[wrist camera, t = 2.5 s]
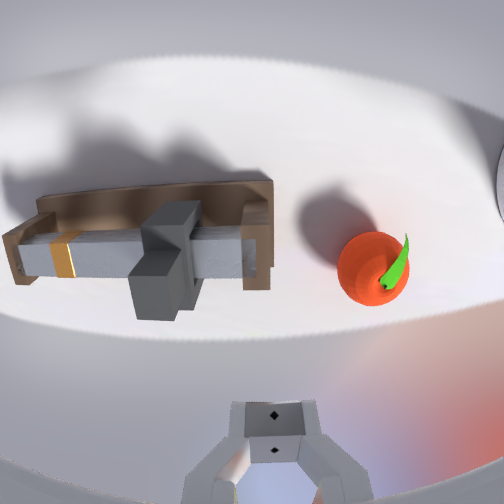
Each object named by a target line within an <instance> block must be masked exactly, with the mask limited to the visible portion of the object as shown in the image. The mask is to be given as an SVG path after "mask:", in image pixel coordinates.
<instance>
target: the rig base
mask: <svg viewBox="0 0 504 504" xmlns="http://www.w3.org/2000/svg"><path fill="white" fill-rule="evenodd" d="M197 200H201V210H202V223H203V226H240V227H241V239H244V241H245V240H246V239H247V240H248V239H249V240H251V239H252V240H253V239H256V245H255V247H256V253H255V252H254V254H256V257H255V258H256V259H255V260H256V267H255V268H256V270H254V269H255V268H254V269H253V270H254V271H256V272H253V270H251V269H250V270H251V271H252V274H255V273H256V276H255V275H254V276H255V278H253V276H252V274H251V275H250V273H251V272H250V273H248V272H249V271H250V270H247V271H246V269H248V267H249V268H251V266H252V268H253V267H254V266H255V264H254V266H253V265H252V264H253V263H252V262H251V261H250V260H249V259H248V257H245V258H247V259H248V260H249V261H250V262H251V263H252V264H251V263H249V262H248V261H247V262H248V263H249V264H251V266H250V265H249V266H248V264H246V265H245V266H246V267H247V266H248V267H247V268H246V269H245V270H243V268H242V270H243V273H244V272H245V273H246V274H244V275H247V276H244V275H243V274H242V275H243V277H246V278H243V290H270V267H274V187H273V180H265V181H224V182H199V183H180V184H163V185H149V186H136V187H124V188H113V189H102V190H92V191H83V192H74V193H65V194H57V195H49V196H43V197H41V198H39V199H37V200H36V203H37V209H38V215H37V216H35V217H33V218H31V219H29V220H28V221H26V222H24V223H22V224H21V225H19V226H17V227H15V228H14V229H12V230H10V231H9V232H7V233H5V234H4V235H2V239H3V243H4V246H5V250H6V254H7V258H8V261H9V265H10V268H11V271H12V275H13V278H14V281H15V284H16V285H30V284H31V283H33V282H34V281H35V280H36V279H37V278H38V277H39V276H26V273H25V275H24V272H25V270H24V267H23V263H21V262H22V259H21V256H19V255H20V252H19V251H17V250H19V249H18V245H19V244H21V243H22V242H24V241H25V240H27V239H28V238H30V237H31V236H33V235H34V234H37V233H54V232H66V231H78V230H84V231H93V230H115V229H140V226H141V225H142V224H143V223H144V222H145V221H146V220H147V219H148V218H149V217H150V216H151V215H152V214H153V213H154V212H156V211H157V210H158V209H159V208H160V207H161V206H162V205H163V204H164V203H165V202H174V201H197ZM241 241H242V240H241ZM244 241H243V243H244ZM245 242H246V241H245ZM248 242H249V241H248ZM251 242H252V241H251ZM254 243H255V242H254ZM241 244H242V242H241ZM246 244H247V243H246ZM246 244H245V246H244V247H247V245H246ZM250 244H251V243H250ZM252 244H253V243H252ZM16 245H17V246H16ZM243 245H244V244H243ZM243 245H241V248H242V246H243ZM253 245H254V244H253ZM12 246H13V247H12ZM15 246H16V247H15ZM250 246H251V245H250ZM250 246H249V244H248V247H250ZM14 247H15V248H14ZM248 247H247V248H248ZM251 247H253V248H254V246H251ZM13 249H14V250H13ZM16 249H17V250H16ZM242 249H244V248H242ZM242 249H241V250H242ZM245 249H246V248H245ZM249 250H251V249H250V248H249ZM254 250H255V249H254ZM13 251H14V252H13ZM242 251H244V253H246V254H248V256H249V253H250V251H249V253H247V252H248V249H247V252H245V251H246V250H242ZM251 251H253V250H251ZM16 252H17V253H16ZM14 253H15V254H14ZM17 254H19V255H17ZM250 254H251V253H250ZM254 254H253V255H251V257H252V256H254ZM15 255H16V256H15ZM242 255H244V254H243V252H242ZM17 256H18V257H17ZM245 256H246V255H245ZM249 257H250V256H249ZM251 257H250V258H251ZM15 258H16V259H15ZM245 258H244V257H242V259H243V261H244V260H247V259H245ZM17 259H18V260H21V261H18V260H17ZM15 260H16V262H18V263H16V262H15ZM251 260H252V258H251ZM254 263H255V261H254ZM16 264H17V265H16ZM20 264H22V267H23V268H20V266H21V265H20ZM243 264H244V263H242V265H243ZM17 266H19V267H17ZM245 266H244V267H245ZM18 268H19V270H20V269H22V272H21V271H19V270H18ZM20 272H21V273H20ZM20 274H21V275H20ZM22 274H23V275H22ZM248 274H249V277H250V278H248ZM251 277H252V278H251Z"/></svg>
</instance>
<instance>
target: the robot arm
mask: <svg viewBox="0 0 504 504" xmlns="http://www.w3.org/2000/svg"><path fill="white" fill-rule="evenodd" d="M497 200H498V206H499V210H500V213H501V216H502V218H503V220H504V148H503V151H502V154H501V157H500V161H499V166H498V172H497ZM272 462H297V463H298V464H299V466H300V467H301V468H302V469H303V471H304V472H305V473H306V474H307V475H308V477H309V478H310V479H311V480H312V481H313V482H314V484H315V485H316V486H317V487H318V489H317V492H316V495H315V498H314V501H313V503H312V504H504V456H503V457H501V458H499V459H497V460H495V461H493V462H490V463H488V464H486V465H483V466H481V467H479V468H476V469H474V470H471V471H469V472H466V473H464V474H461V475H458V476H455V477H453V478H450V479H447V480H444V481H442V482H438V483H435V484H432V485H428V486H425V487H422V488H418V489H415V490H411V491H407V492H403V493H399V494H395V495H391V496H387V497H382V498H378V499H374V497H373V493H372V488H371V484H370V480H369V476H368V472H367V470H366V469H365V468H364V467H363V466H361V465H360V464H359V463H358V462H357V461H356V460H354V459H353V458H352V457H351V456H350V455H349V454H348V453H346V452H345V451H344V450H343V449H342V448H341V447H340V446H339V445H338V444H336V443H335V442H334V441H333V440H332V439H331V438H330V437H329V436H328V435H327V434H322V432H321V427H320V421H319V416H318V410H317V405H316V401H315V400H303V401H302V400H301V401H300V400H298V401H282V402H232V403H231V410H230V422H229V436H228V437H224V438H223V439H222V440H221V441H220V442H219V443H218V444H217V445H216V446H215V447H214V448H213V449H212V451H211V452H210V453H209V454H208V455H207V456H206V457H205V458H204V459H203V460H202V461H201V462H200V463H199V464H198V465H197V466H196V467H195V468H194V469H193V470H192V471H191V472H190V473H189V474H188V475H187V476H186V477H185V483H184V488H183V494H182V501H181V504H238V502H237V497H236V490H235V485H236V484H237V482H238V481H239V480H240V478H241V477H242V476H243V474H244V473H245V472H246V470H247V469H248V467H249V466H250V465H251V463H272ZM0 504H156V503H150V502H144V501H139V500H134V499H128V498H124V497H119V496H115V495H111V494H107V493H103V492H99V491H95V490H92V489H88V488H84V487H81V486H78V485H75V484H72V483H68V482H65V481H62V480H59V479H57V478H54V477H51V476H48V475H45V474H43V473H40V472H38V471H35V470H33V469H30V468H28V467H25V466H23V465H21V464H18V463H16V462H14V461H11V460H9V459H7V458H5V457H3V456H1V455H0Z"/></svg>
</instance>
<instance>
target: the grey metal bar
mask: <svg viewBox="0 0 504 504" xmlns="http://www.w3.org/2000/svg"><path fill="white" fill-rule="evenodd" d="M241 240H242V241H241ZM189 241H190V251H191V260H192V269H193V278H246V277H243V275H244V274H246V273H245V272H244V273H243V270H245V269H246V268H247V267H248V266H249V265H250V266H251V264H252V263H253V264H252V265H253V266H254V264H255V266H254V267H253V268H252V266H251V268H249V267H248V269H246V271H247V270H250V269H251V270H253V269H254V268H255V267H256V260H255V259H256V258H255V257H256V254H254V252H255V253H256V247H255V245H256V239H253V240H252V239H251V240H249V239H248V240H247V239H246V240H245V241H246V242H245V241H244V239H241V227H240V226H203V227H194V228H193V230H192V232H191V233H190V235H189ZM243 241H244V243H243ZM248 241H249V242H248ZM251 241H252V242H251ZM241 242H242V244H241ZM254 242H255V243H254ZM246 243H247V244H246ZM250 243H251V244H250ZM252 243H253V244H254V245H253V244H252ZM243 244H244V245H243ZM245 244H246V245H247V247H248V244H249V246H250V245H251V246H254V248H253V247H251V246H250V247H248V248H247V247H244V246H245ZM241 245H243V246H242V248H244V249H242V248H241ZM16 246H17V245H16ZM16 246H15V247H16ZM12 247H13V246H12ZM15 247H14V248H15ZM245 248H246V249H245ZM249 248H250V249H251V250H253V251H251V250H249ZM18 249H19V250H17V249H16V250H17V251H19V252H20V255H19V254H17V255H19V256H21V259H22V262H21V263H23V267H24V270H25V272H24V275H25V273H26V276H51V277H58V278H76V277H92V278H128V275H129V273H130V272H131V271H132V269H133V268H134V267H135V266H136V264H137V263H138V262H139V260H140V259H141V258H142V257H143V255H144V250H143V244H142V237H141V231H140V229H115V230H93V231H84V230H78V231H66V232H54V233H37V234H34V235H33V236H31V237H30V238H28V239H27V240H25V241H24V242H22V243H21V244H19V245H18ZM241 249H242V250H246V251H245V252H247V249H248V252H247V253H249V251H250V253H251V254H250V253H249V256H250V257H251V255H253V254H254V256H252V257H251V258H252V260H251V258H250V257H249V256H248V254H246V253H244V251H242V250H241ZM254 249H255V250H254ZM13 250H14V249H13ZM13 252H14V251H13ZM242 252H243V254H244V255H242ZM16 253H17V252H16ZM14 254H15V253H14ZM245 255H246V256H245ZM15 256H16V255H15ZM17 257H18V256H17ZM242 257H244V258H245V257H248V259H249V260H250V261H251V262H252V263H251V262H250V261H249V260H248V259H247V258H245V259H247V260H244V261H243V259H242ZM15 259H16V258H15ZM17 260H18V259H17ZM18 261H21V260H18ZM247 261H248V262H249V263H251V264H249V263H248V262H247ZM254 261H255V263H254ZM15 262H16V260H15ZM16 263H18V262H16ZM242 263H244V264H243V265H242ZM246 264H248V266H247V267H246V266H245V265H246ZM16 265H17V264H16ZM20 265H21V266H20V268H23V267H22V264H20ZM244 266H245V267H244ZM17 267H19V266H17ZM242 268H243V270H242ZM18 270H19V268H18ZM251 270H250V271H249V272H248V273H250V272H251V273H250V275H251V274H252V271H251ZM254 270H256V268H255V269H254ZM254 270H253V272H256V271H254ZM19 271H21V272H22V269H20V270H19ZM21 272H20V273H21ZM242 274H243V275H242ZM20 275H21V274H20ZM22 275H23V274H22ZM254 275H255V276H256V273H255V274H252V276H253V278H255V276H254ZM244 276H247V275H244ZM248 278H250V277H249V274H248ZM251 278H252V277H251Z"/></svg>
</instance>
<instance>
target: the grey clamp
mask: <svg viewBox="0 0 504 504" xmlns="http://www.w3.org/2000/svg"><path fill="white" fill-rule="evenodd" d="M194 227H203V223H202V210H201V200H197V201H174V202H165V203H164V204H163V205H162V206H161V207H160V208H159V209H158V210H157V211H156V212H154V213H153V214H152V215H151V216H150V217H149V218H148V219H147V220H146V221H145V222H144V223H143V224H142V225H141V226H140V231H141V237H142V244H143V250H144V255H143V257H142V258H141V259H140V260H139V262H138V263H137V264H136V266H135V267H134V268H133V269H132V271H131V272H130V273H129V275H128V281H129V286H130V290H131V295H132V299H133V304H134V308H135V312H136V316H137V319H138V320H160V321H174V320H175V318H176V315H177V312H178V310H194V307H195V304H196V301H197V298H198V295H199V292H200V289H201V286H202V283H203V280H204V278H193V269H192V260H191V251H190V241H189V235H190V233H191V232H192V230H193V228H194Z"/></svg>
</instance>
